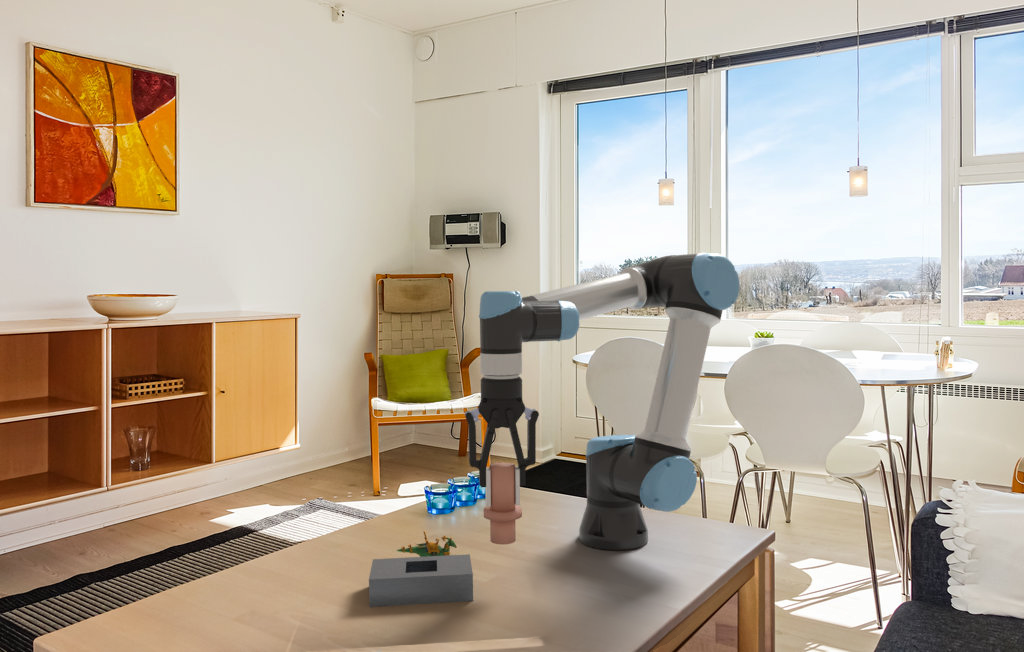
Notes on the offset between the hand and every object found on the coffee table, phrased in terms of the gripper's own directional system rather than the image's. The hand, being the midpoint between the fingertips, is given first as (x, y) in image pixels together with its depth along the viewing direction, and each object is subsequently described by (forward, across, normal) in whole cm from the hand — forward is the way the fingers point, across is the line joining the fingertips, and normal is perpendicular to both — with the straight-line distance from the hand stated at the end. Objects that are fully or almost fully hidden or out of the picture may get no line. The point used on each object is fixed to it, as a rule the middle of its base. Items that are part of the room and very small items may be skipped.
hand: (502, 503), depth 139 cm
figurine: (+17, +14, -14) cm, 26 cm away
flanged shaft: (+7, 0, 0) cm, 7 cm away
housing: (+17, +15, 0) cm, 22 cm away
